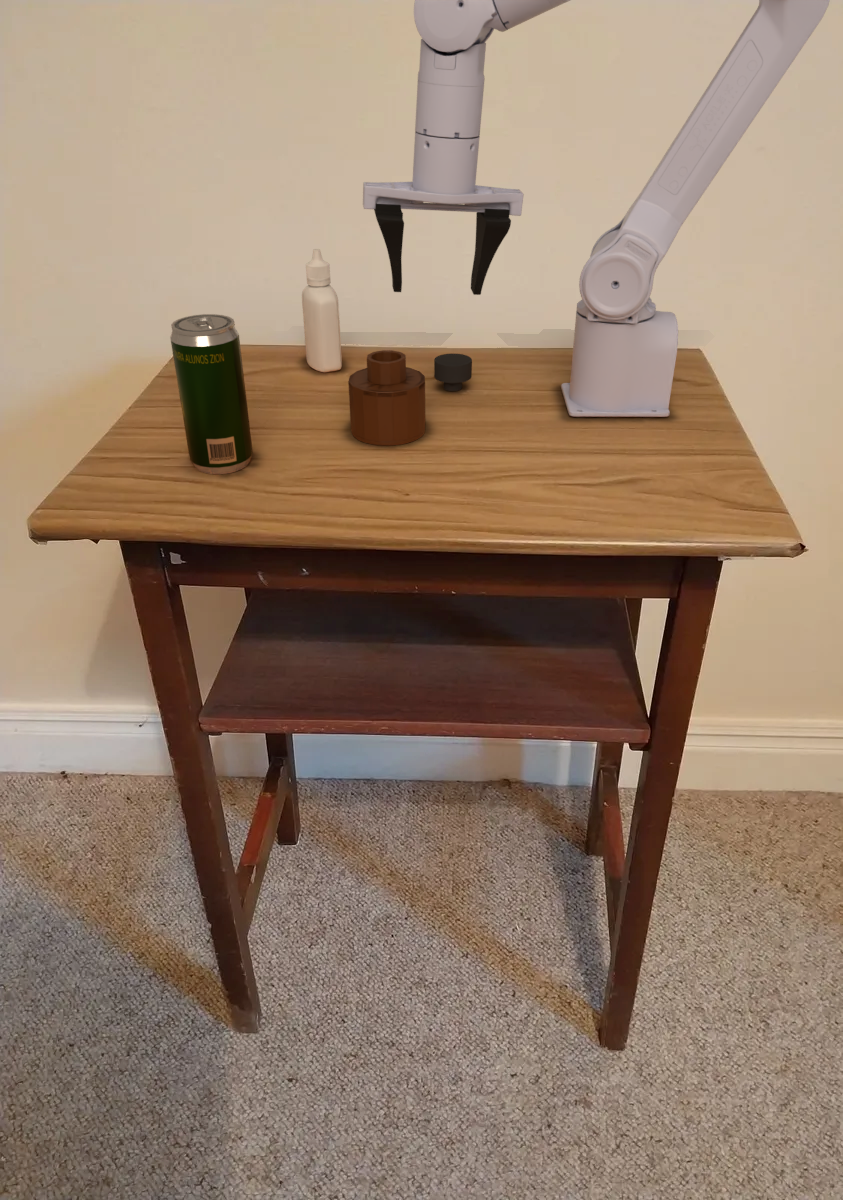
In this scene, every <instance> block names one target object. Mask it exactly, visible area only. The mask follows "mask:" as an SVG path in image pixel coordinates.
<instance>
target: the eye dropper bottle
mask: <svg viewBox="0 0 843 1200" xmlns="http://www.w3.org/2000/svg"><path fill="white" fill-rule="evenodd" d="M305 273H306V284H307V285H306V286H305V287H304V288H303V289H302V292H301V304H302V318H303V319H302V321H303V331H304V343H305V354H306V355H305V357H306V358H305V359H306V362H307V364H308V366H309V367H310V368H312V369H313V370H316V371H318V372H320V373H329V372H330V373H331V372H335V371H340V370H341V369H342V367H343V361H342V360H343V359H342V358H343V357H342V339H341V323H340V322H341V321H340V306H339V305H340V304H339V297H338V294H337V292H336V291H335V289H334V288H333V286H332V285H331V267H330V263H329V262H328V261H325V260H324V259H323V256H322V251H321V249H319V248H314V249H313V250H312V258H311V260H310V261H309V262H307V263H306V264H305Z"/></svg>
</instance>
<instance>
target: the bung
mask: <svg viewBox="0 0 843 1200" xmlns="http://www.w3.org/2000/svg"><path fill="white" fill-rule="evenodd" d="M472 373H473V359H472V357H471V356H469V355H467V354H463V353H443V354H440V355H437V356H435V358H434V359H433V376H434V377H433V378H434V379H435V380H436V381H438V382H441V383H443V390H445V391H447V392H458V391H461V390H462V389H463V383H465V382H468V381H470V380H471V379H472V375H473V374H472Z"/></svg>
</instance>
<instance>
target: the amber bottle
mask: <svg viewBox="0 0 843 1200" xmlns="http://www.w3.org/2000/svg"><path fill="white" fill-rule="evenodd" d="M347 382H348V398H349V399H348V400H349V419H350V421H349V422H350V431H351V435H352V436H353V437H354V439H356V440H357V441H359V442H362V443H364V444H368V445H374V446H382V447H383V446H384V447H385V446H386V447H387V446H388V447H389V446H401V445H406V444H408V443H412V442H415V441H417V440H419V439H421V438H422V437H423V436H424V434H425V432H426V375H425V374H424V373H422V372H421V371H420V370H418V369H415V368H413V367H412V368H411V367H408V366H407V355H406V354H405V353H403V352H401V351H398V350H394V349H393V350H390V349H389V350H388V349H387V350H385V349H384V350H383V349H382V350H377V351H373V352H371V353H368V354H367V355H366V368H365V367H364V368H362V369H359V370H356V371H355V372H353V373H352V374H350V375H349V376H348V381H347Z"/></svg>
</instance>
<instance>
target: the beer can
mask: <svg viewBox="0 0 843 1200" xmlns="http://www.w3.org/2000/svg"><path fill="white" fill-rule="evenodd" d="M235 325H236V323H235V320H234V318H233V317H230V316H228V315H223V314H216V313H215V314H214V313H211V314H210V313H206V314H205V313H203V314H194V315H187V316H185V317H181V318H178V319H176V320H174V321H173V322H172V323H171V326H170V327H171V333H170V336H169V339H170V345H171V351H172V358H173V364H174V369H175V375H176V382H177V386H178V387H177V389H178V395H179V401H180V406H181V413H182V419H183V425H184V431H185V432H184V433H185V438H186V444H187V450H188V457H189V461H190V462H191V464H192V465H193V467H194V468H195V469H196V470H197V471H198V472H201V473H204V474H208V475H209V474H210V475H225V474H231V473H234V472H235V473H236V472H239V471H240V470H243V469H245V468H246V467H247V466H248V465H250V462H251V460H252V456H253V451H254V449H253V442H252V434H251V425H250V424H251V423H250V418H249V417H250V416H249V409H248V400H247V391H246V382H245V375H244V365H243V358H242V349H241V341H240V340H241V339H240V334H239V331H238V329H237V328H236V326H235Z"/></svg>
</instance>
